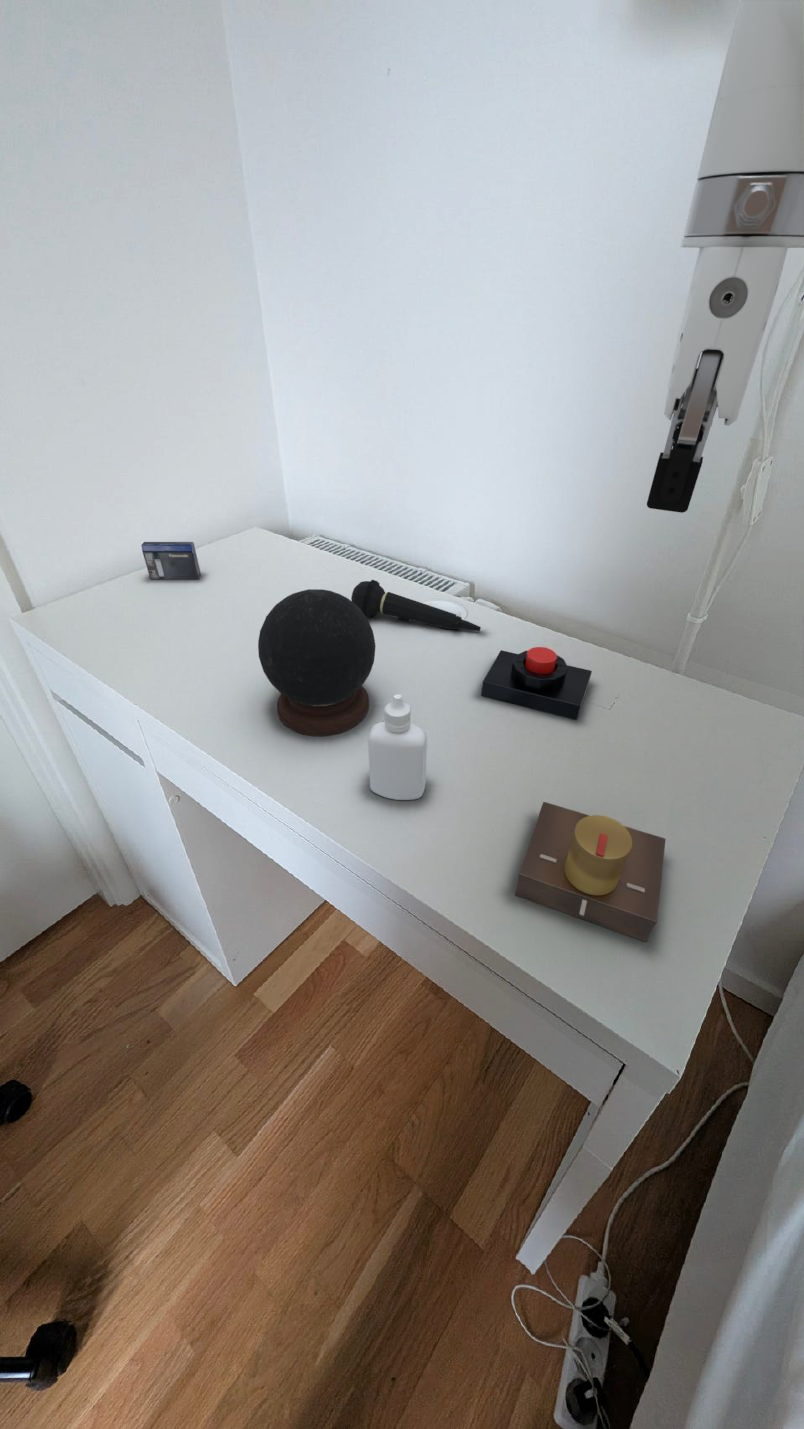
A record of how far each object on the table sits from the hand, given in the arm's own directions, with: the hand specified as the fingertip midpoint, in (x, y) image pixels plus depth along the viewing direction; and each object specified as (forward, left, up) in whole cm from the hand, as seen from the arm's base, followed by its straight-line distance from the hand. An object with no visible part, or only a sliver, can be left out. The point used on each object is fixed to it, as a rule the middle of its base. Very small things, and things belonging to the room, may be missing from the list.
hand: (666, 507), depth 48 cm
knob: (-2, +20, -24) cm, 31 cm away
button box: (+9, -8, -27) cm, 30 cm away
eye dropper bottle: (+18, +15, -27) cm, 36 cm away
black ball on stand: (+32, +6, -27) cm, 42 cm away
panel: (-2, +18, -27) cm, 33 cm away
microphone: (+30, -17, -27) cm, 44 cm away
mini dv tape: (+73, -15, -27) cm, 79 cm away
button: (+9, -8, -23) cm, 26 cm away
